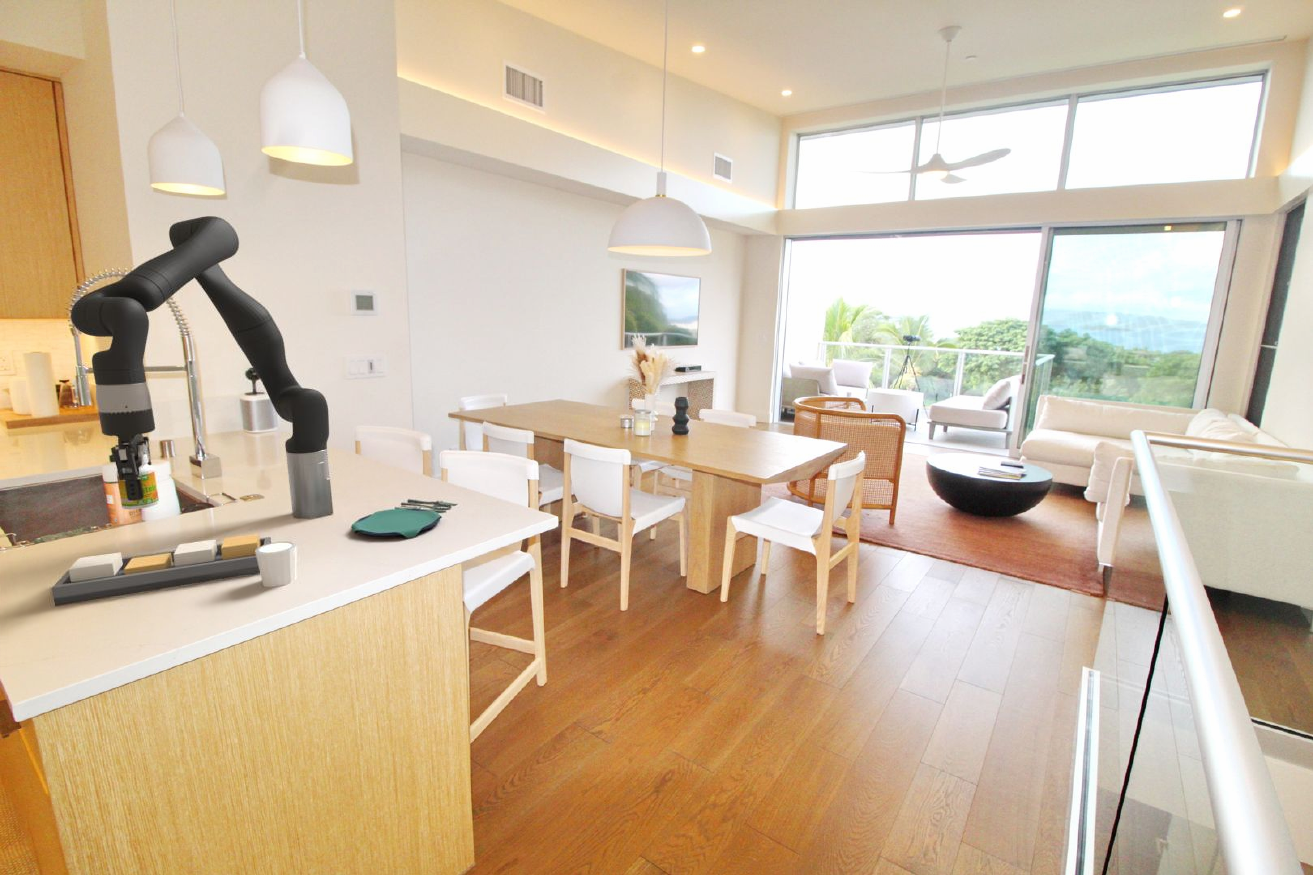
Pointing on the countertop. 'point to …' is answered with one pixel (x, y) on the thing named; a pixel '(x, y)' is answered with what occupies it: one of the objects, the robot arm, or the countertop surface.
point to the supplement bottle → (147, 485)
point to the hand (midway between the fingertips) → (139, 495)
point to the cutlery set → (401, 519)
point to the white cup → (277, 563)
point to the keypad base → (154, 577)
